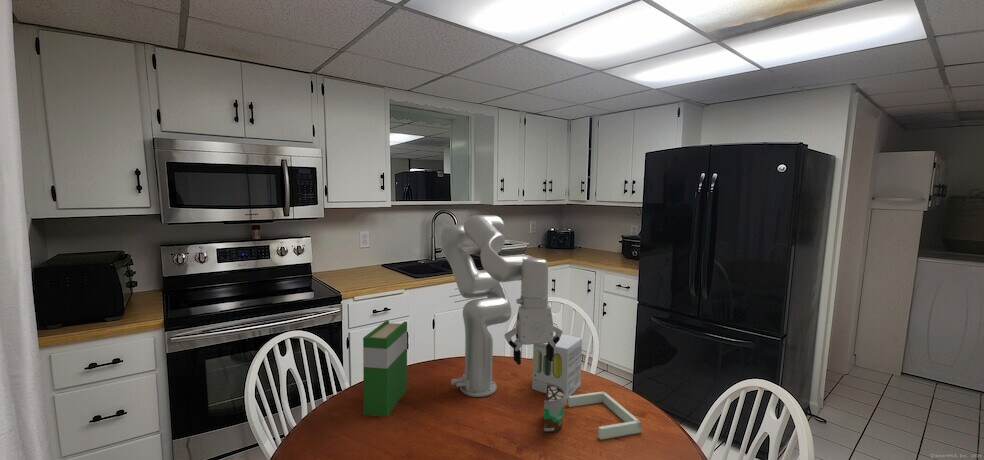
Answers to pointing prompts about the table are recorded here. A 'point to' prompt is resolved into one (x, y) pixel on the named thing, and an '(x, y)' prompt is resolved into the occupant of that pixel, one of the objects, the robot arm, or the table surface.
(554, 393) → the food container
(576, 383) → the supplement box
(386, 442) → the table surface
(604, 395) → the bay
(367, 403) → the hardback book
